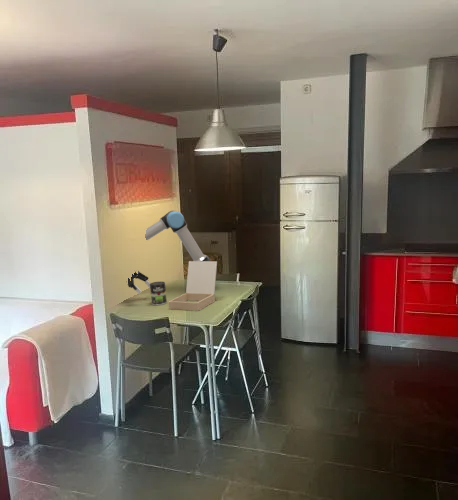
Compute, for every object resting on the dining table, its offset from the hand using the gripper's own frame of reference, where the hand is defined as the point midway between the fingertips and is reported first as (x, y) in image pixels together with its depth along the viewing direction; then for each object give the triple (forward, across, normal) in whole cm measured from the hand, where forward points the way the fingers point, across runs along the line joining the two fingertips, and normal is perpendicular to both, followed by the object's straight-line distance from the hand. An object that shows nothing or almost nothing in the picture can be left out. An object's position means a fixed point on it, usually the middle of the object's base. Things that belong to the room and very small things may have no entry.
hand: (146, 290), depth 312 cm
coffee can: (+14, 0, +1) cm, 14 cm away
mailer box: (+32, -4, +20) cm, 38 cm away
